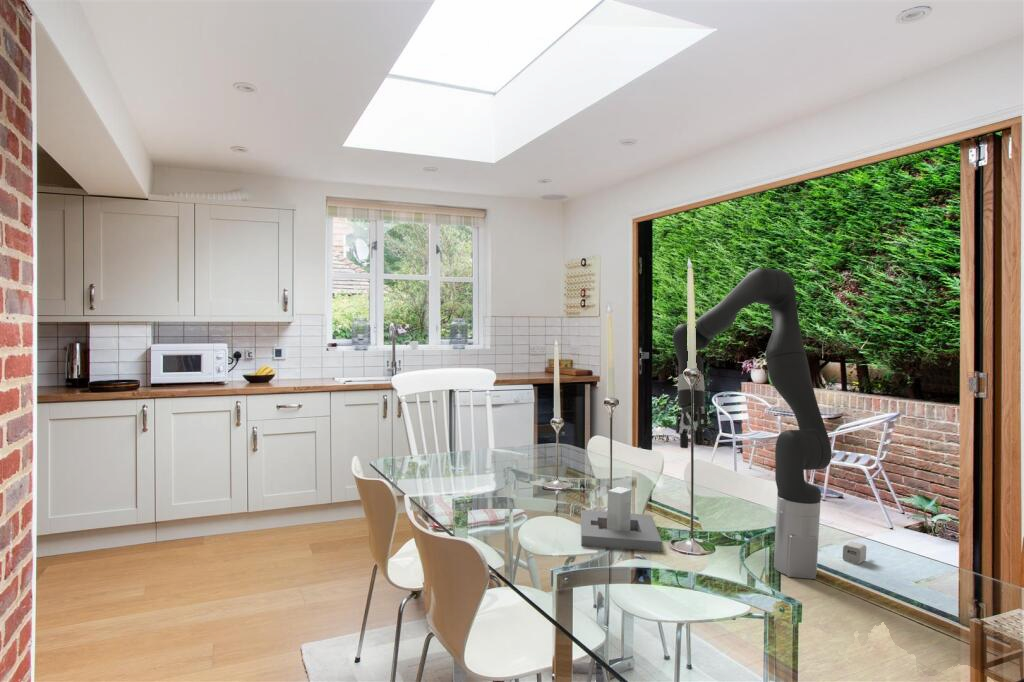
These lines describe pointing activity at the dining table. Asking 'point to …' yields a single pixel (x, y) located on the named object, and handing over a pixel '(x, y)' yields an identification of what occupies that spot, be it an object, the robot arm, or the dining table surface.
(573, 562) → the dining table surface
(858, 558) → the usb wall charger
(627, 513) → the skincare box
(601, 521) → the block
